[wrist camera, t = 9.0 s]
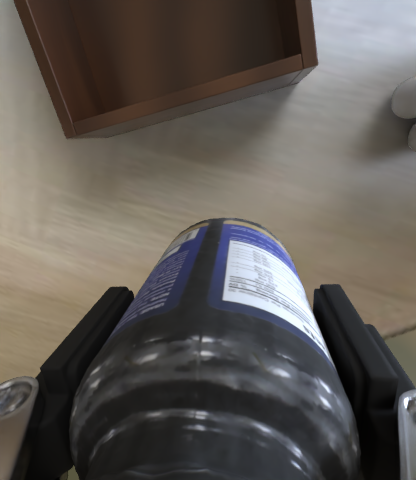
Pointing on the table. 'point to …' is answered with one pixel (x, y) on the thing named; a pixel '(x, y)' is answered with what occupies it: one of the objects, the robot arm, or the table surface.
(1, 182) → the table surface
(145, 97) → the box
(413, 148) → the toy rhinoceros
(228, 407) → the pill bottle
